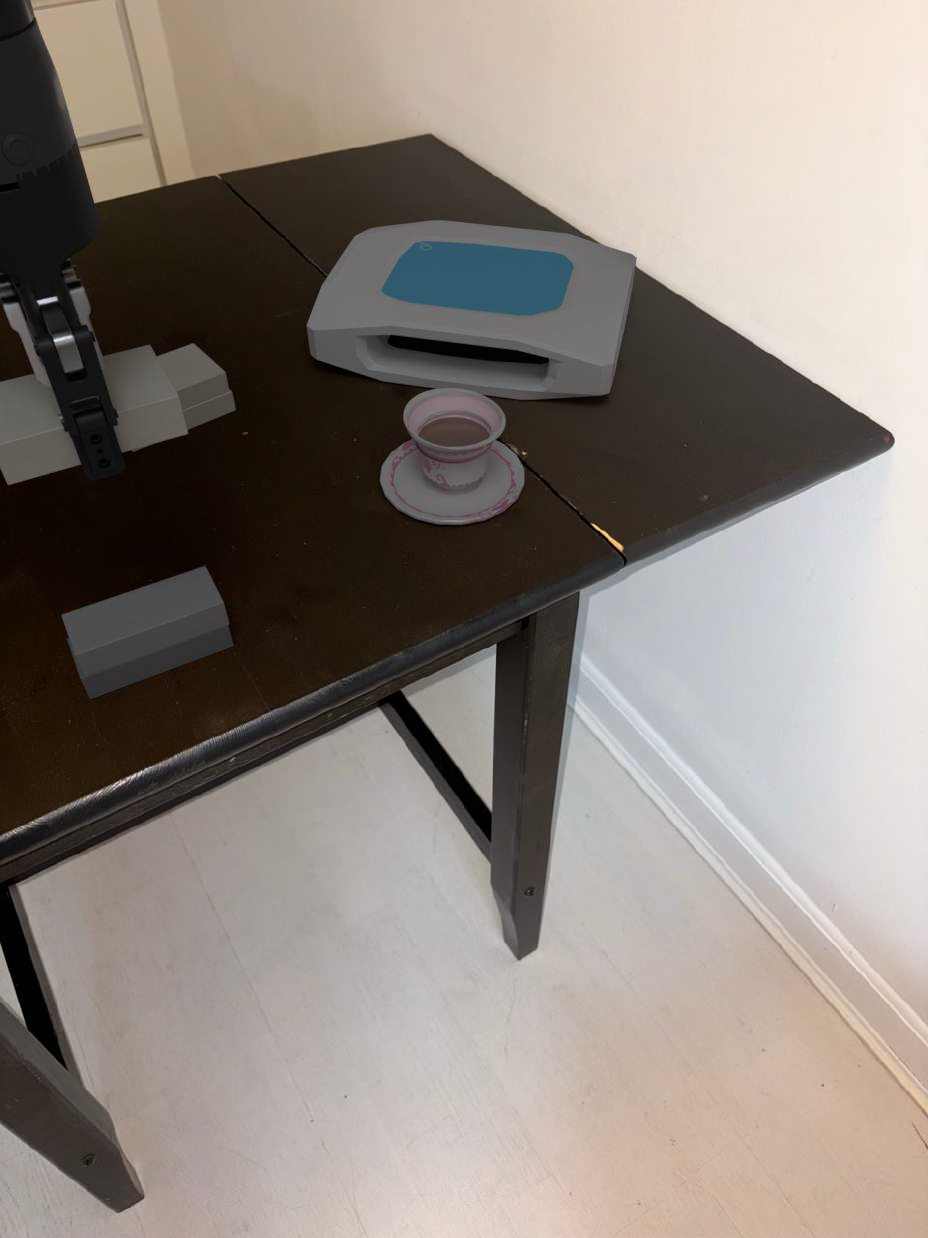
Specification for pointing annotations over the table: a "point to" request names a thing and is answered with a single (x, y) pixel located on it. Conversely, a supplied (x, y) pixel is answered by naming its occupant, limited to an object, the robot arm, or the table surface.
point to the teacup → (452, 460)
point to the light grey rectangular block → (28, 413)
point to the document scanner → (476, 308)
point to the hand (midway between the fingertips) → (92, 441)
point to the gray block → (147, 631)
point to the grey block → (197, 385)
